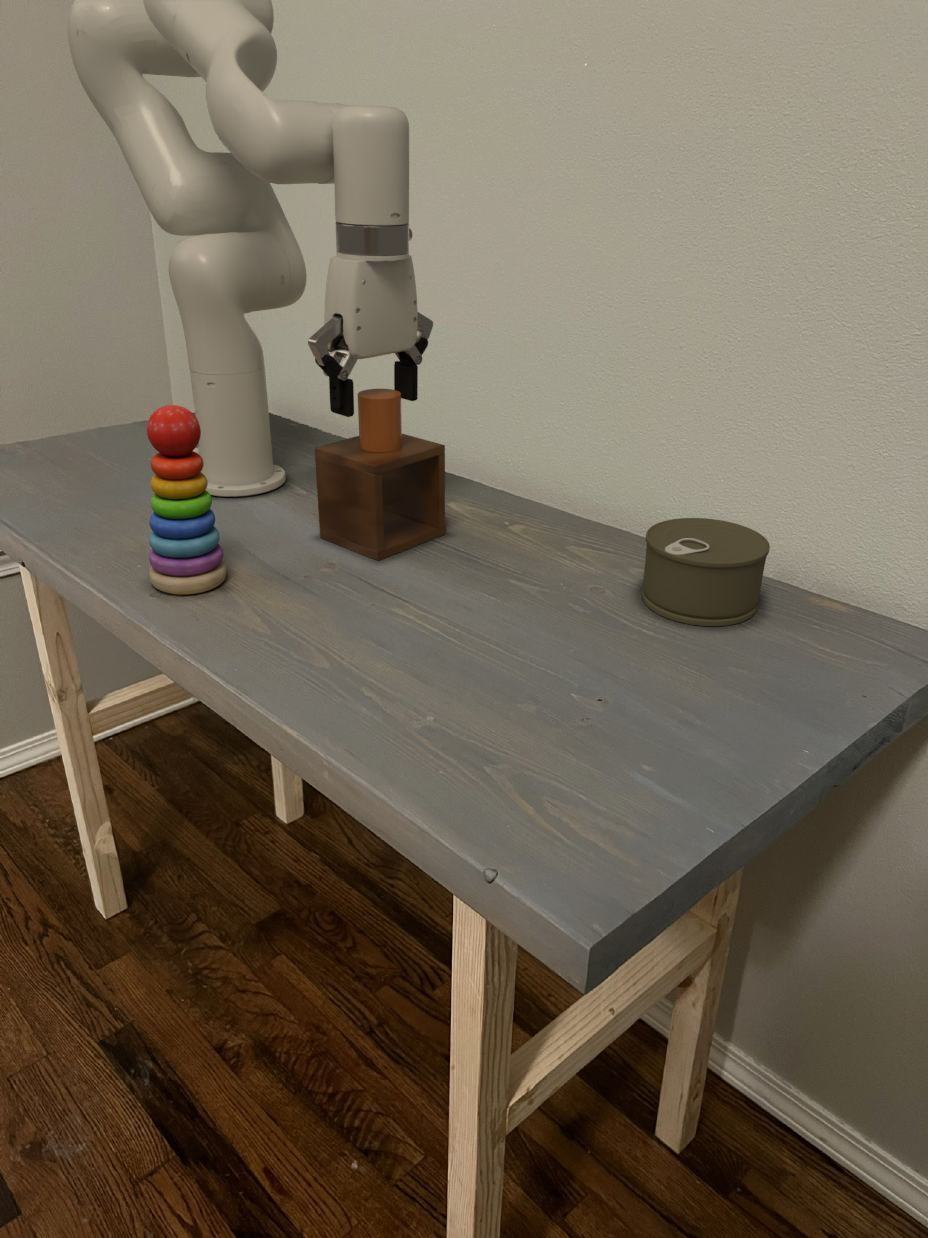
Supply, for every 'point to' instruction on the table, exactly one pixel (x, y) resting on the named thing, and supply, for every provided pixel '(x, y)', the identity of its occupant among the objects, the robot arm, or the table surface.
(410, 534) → the shelf
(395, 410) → the copper tin
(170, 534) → the stacking toy
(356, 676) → the table surface
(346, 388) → the robot arm
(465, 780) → the table surface
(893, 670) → the table surface
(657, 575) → the can
